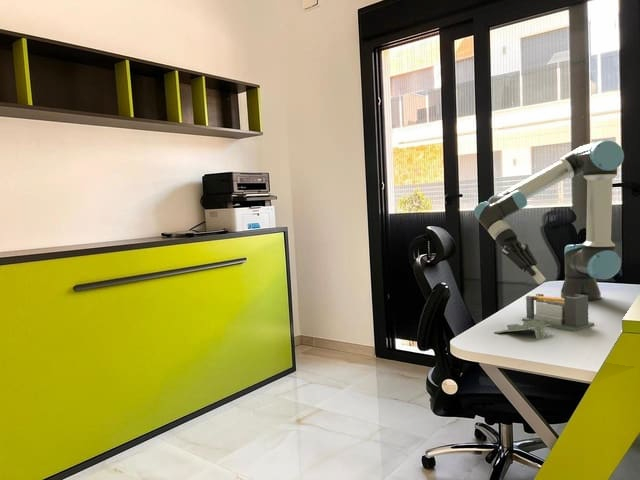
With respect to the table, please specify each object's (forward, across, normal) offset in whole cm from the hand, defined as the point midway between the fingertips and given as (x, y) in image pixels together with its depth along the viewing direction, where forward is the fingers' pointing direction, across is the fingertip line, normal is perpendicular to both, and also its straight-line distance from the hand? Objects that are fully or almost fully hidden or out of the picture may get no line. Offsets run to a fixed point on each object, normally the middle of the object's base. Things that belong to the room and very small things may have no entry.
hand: (542, 281), depth 173 cm
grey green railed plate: (+14, 0, -6) cm, 15 cm away
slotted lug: (+18, 0, 0) cm, 18 cm away
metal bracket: (+15, +19, -5) cm, 25 cm away
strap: (+8, 0, -1) cm, 8 cm away
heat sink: (+11, 0, -7) cm, 13 cm away
